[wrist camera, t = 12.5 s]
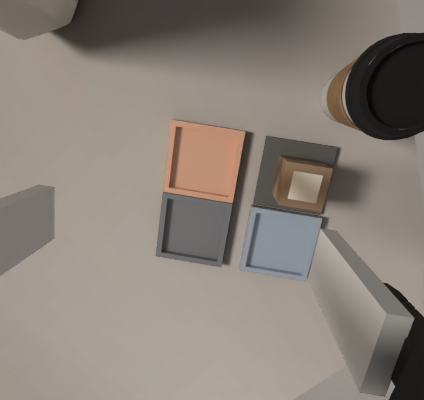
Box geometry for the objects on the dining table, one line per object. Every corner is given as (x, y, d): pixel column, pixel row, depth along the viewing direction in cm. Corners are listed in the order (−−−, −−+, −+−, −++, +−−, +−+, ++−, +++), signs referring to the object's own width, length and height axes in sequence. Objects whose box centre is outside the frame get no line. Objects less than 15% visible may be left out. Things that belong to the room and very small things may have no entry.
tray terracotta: (172, 119, 40) (171, 119, 39) (245, 131, 40) (245, 131, 38) (164, 189, 42) (162, 191, 41) (232, 200, 42) (232, 203, 41)
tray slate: (251, 204, 42) (251, 207, 41) (320, 215, 42) (322, 218, 41) (239, 266, 45) (239, 270, 43) (304, 277, 44) (305, 281, 43)
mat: (266, 136, 40) (266, 136, 39) (336, 147, 39) (337, 147, 39) (253, 202, 42) (253, 203, 41) (319, 213, 42) (320, 214, 41)
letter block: (279, 154, 40) (287, 161, 34) (318, 160, 39) (333, 168, 34) (271, 192, 41) (278, 205, 35) (309, 199, 41) (321, 213, 35)
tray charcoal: (164, 190, 42) (162, 192, 41) (232, 201, 42) (232, 203, 41) (157, 252, 45) (155, 256, 44) (221, 263, 45) (221, 267, 44)
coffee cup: (391, 111, 38) (488, 109, 23) (325, 144, 39) (379, 161, 25) (365, 46, 36) (453, 0, 22) (298, 83, 38) (339, 62, 23)
